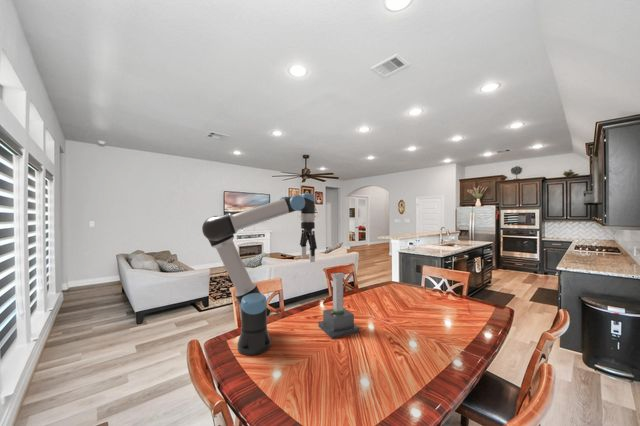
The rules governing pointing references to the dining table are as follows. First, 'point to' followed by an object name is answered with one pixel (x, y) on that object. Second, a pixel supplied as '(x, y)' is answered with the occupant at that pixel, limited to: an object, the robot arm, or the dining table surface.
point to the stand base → (338, 323)
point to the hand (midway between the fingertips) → (307, 260)
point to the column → (338, 293)
